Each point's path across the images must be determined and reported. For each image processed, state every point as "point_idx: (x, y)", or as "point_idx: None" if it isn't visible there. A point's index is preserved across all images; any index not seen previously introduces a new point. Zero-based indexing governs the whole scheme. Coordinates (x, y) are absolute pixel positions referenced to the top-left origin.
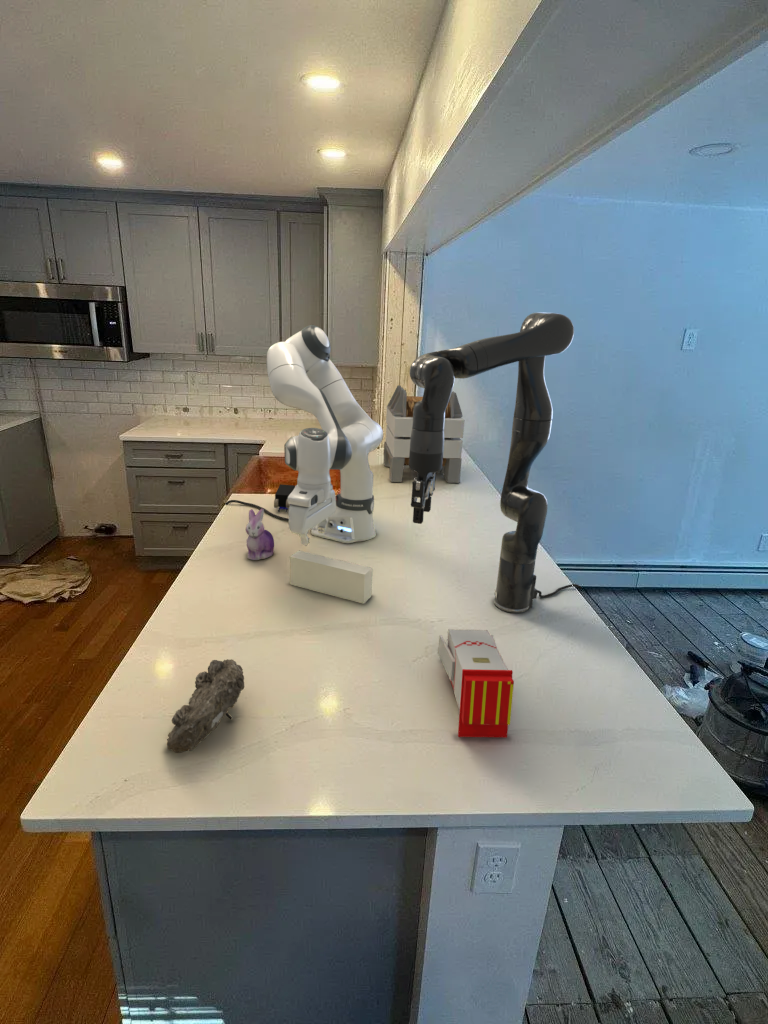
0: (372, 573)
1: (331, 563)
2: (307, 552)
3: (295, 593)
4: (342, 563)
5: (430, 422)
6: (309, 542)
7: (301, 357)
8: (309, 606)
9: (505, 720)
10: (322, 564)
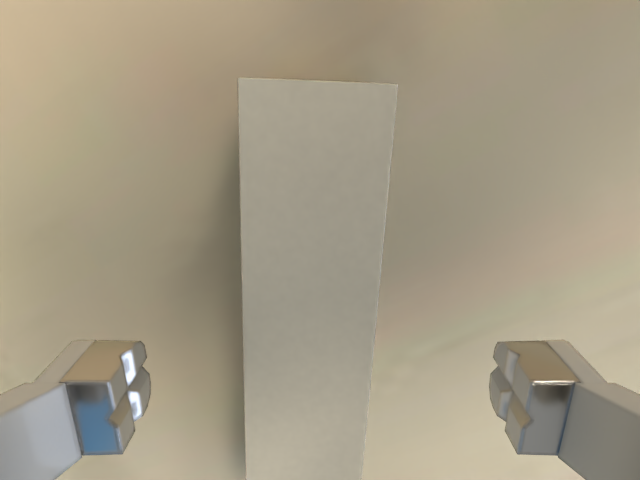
0: None
1: (285, 409)
2: (383, 177)
3: (195, 161)
4: (320, 461)
5: None
6: (143, 409)
7: None
8: (126, 283)
9: None
10: (243, 368)
